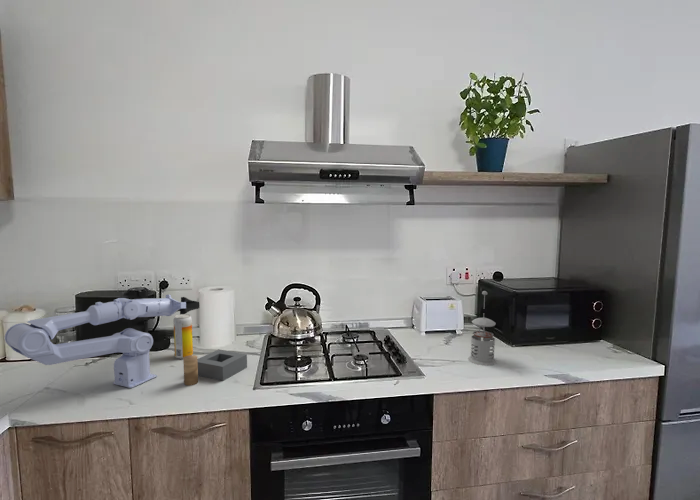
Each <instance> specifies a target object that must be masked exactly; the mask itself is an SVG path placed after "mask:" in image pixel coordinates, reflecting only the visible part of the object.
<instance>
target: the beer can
mask: <svg viewBox="0 0 700 500" xmlns="http://www.w3.org/2000/svg"><path fill="white" fill-rule="evenodd" d="M172 323H173V341H174V342H173V344H174V357H175V358H176V359H177V360H183V358H184V357H186V356H189V355H194V347H193V346H194V344H193V341H194V340H193V319H192V316H191V314H188V313H186V314H177V315H175V316H174V318H173V322H172Z"/></svg>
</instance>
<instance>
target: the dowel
mask: <svg viewBox="0 0 700 500" xmlns="http://www.w3.org/2000/svg"><path fill="white" fill-rule="evenodd" d="M197 359H198V355H194V354H192V355H189V356H186V357H184V358H183V359H182V360H183V361H182V362H183V363H182V364H183V384H184V386H195V385H197V384H198V383H199V376H198V361H197Z"/></svg>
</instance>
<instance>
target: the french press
mask: <svg viewBox="0 0 700 500" xmlns="http://www.w3.org/2000/svg"><path fill="white" fill-rule="evenodd" d="M481 295H483V308H485V307H486V306H485V302H486V296H487V295H488V292H487V291H486V290H483V291H481ZM471 323H472V324H473V325H475V326H477V327H478V330H475V331H474V330H473V332H472V335H471V339H470V341H471V343H470V344H471V345H470V346H471V347H470V356H469V357H468V358H467V360H468V361H469V362H470V363H472V364H475V365H478V366H479V365H480V366H493V365H496V364H497V360H496V359H495V345H496V344H495V343H496V341H495V339H496V338H495V337H494V336H495V334H494V333H493V332H490V331H486V330H485V328H491V327H495V326H496V322H495V321H494V320H492V319H490V318H487V317H485V314H483V317H477V318H474V319H473V320H471ZM481 328H482V330H481Z"/></svg>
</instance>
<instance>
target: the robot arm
mask: <svg viewBox="0 0 700 500" xmlns="http://www.w3.org/2000/svg"><path fill="white" fill-rule="evenodd" d="M94 303H95V304H92V305H90V306H89V307H88V308H87V309H86V310H85V311H79V312H71V313H66V314H61V315H54V316H49V317H43V318H36V319H31V320H28V321H26V322H20V323H15V324H13V325H12V326H10V327H9V328H8V329H7V330H6V332H5V335H4V341H5V343H6V344H7V345H8V346H9V347H10V348H11V350H12V351H13V352H16V353H18V354H20V355H22V356H24V357H25V358H27V359H31V360H33V361H35V362H38V363H41V364H43V365H45V366H50V365H51V366H52V365H57V364H61V363H66V362H72V361H77V360H84V359H89V358H93V357H94V358H95V357H99V356H104V355H109V354H114V353H115V354H116V353H122V354H121V356H119V357H117V358H116V359H115V360H114V363H113V372H114V381H113V382H112V385H117V386H121V387H125V388H129V389H132V388H135V387H136V386H137V387H138V386H139V385H141V384H143V383H146V382H148V381H150V380H152V379H155V378H157V376H158V375H156V374H155V373H154V374H153V373H151V370H150V369H151V363H150V362H151V361H150V350H151V349H152V346H153V345H154V338H153V336H152V334H150V333H149V332H143V331H141V330H137V329H135V328H133V327H132V328H131V327H128V328H125V329H123V330H122V331H120V332H116V333H113V334H112V335H108V336H101V337H95V338H89V339H88V338H87V339H83V340H77V341H75V340H74V341H69V342H62V343H56V344H55V343H53V342H52V341H51V340H53V339H54V338H55V337H56V335H57V334H58V332H59V331H62V330H65V329H70V328H72V327H77V326H81V325H84V324H88V323H89V324H91V325H93V326H98V325H99V326H100V325H103V324H107V323H111V322H116V321H118V320H121V319H126V320H130V321H131V320H135V319H136V318H148V317H151V318H152V317H171V316H173V315H174V314H175V313H177V312H179V315H181V314H188V313H189V312H191V311H194V310H197V309H200V301H197V300H191V299H189V298H187V297H185V296H181V297H180V301H179V300H176V299H174V298H172V295H171V294H165V297H163V298H162V297H161V298H158V297H157V298H155V297H153V298H152V297H151V298H134V299H132V298H130V299H129V298H126V297H118V298H116V299H113V301H108V302H101V301H97V302H94Z"/></svg>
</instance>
